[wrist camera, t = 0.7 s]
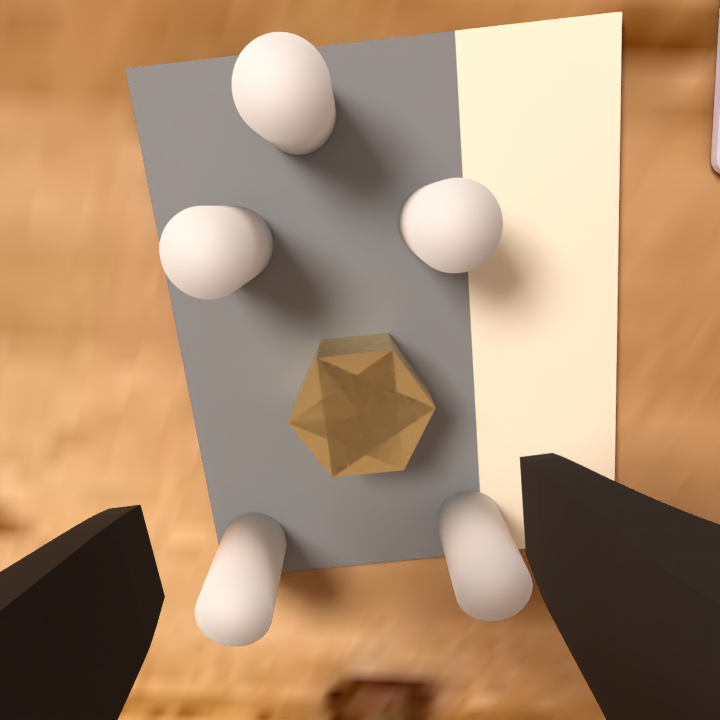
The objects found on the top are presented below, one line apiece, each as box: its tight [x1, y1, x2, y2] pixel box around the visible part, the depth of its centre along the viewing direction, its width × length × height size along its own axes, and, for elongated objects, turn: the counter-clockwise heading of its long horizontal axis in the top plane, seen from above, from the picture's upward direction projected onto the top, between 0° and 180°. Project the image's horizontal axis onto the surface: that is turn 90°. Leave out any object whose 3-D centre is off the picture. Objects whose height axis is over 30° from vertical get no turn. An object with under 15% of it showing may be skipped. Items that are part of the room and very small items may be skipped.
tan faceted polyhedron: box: [288, 333, 435, 478], centre depth 19 cm, size 5×4×2 cm
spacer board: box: [125, 12, 622, 646], centre depth 18 cm, size 15×18×4 cm
